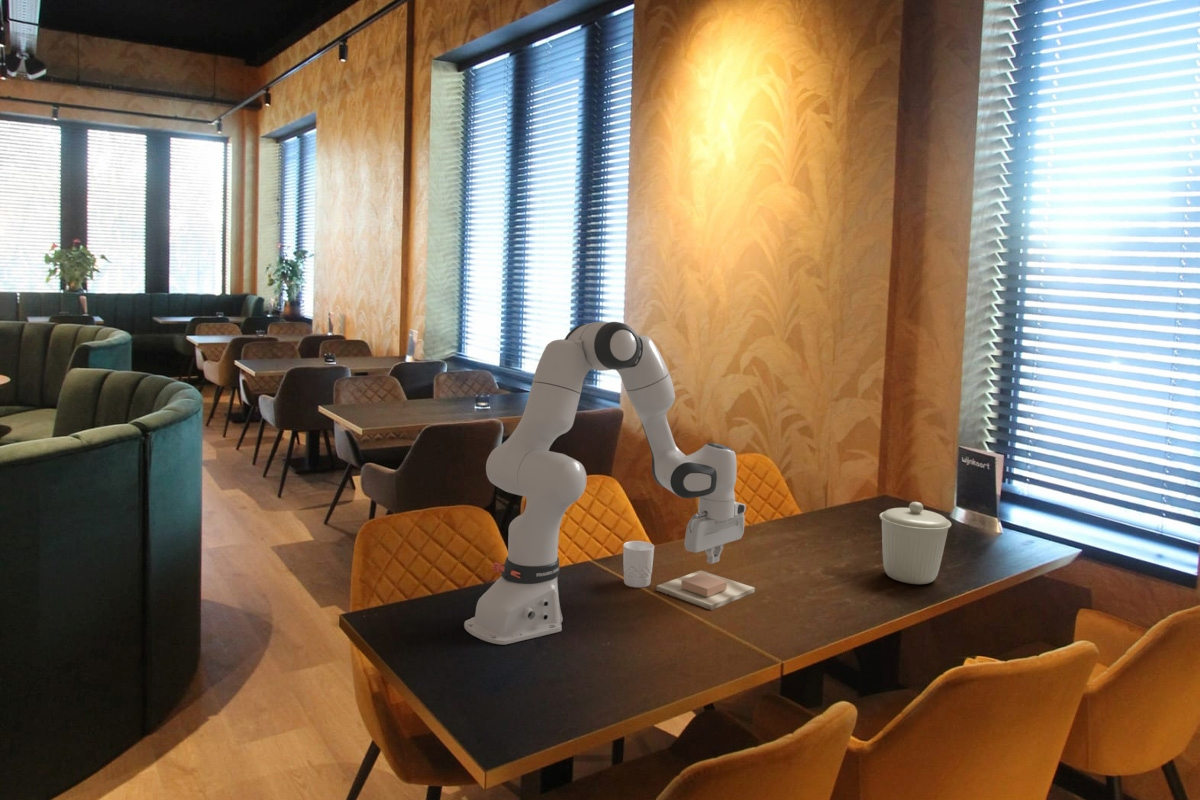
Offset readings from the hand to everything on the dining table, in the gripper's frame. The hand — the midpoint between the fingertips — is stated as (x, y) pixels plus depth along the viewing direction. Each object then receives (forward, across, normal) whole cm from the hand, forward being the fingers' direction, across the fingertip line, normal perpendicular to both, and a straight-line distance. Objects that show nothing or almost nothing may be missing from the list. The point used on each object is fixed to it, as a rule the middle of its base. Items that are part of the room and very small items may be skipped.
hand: (713, 562), depth 212 cm
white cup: (+8, -10, +16) cm, 20 cm away
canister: (+8, +50, -29) cm, 58 cm away
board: (+8, -1, +1) cm, 8 cm away
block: (+5, +1, 0) cm, 5 cm away
